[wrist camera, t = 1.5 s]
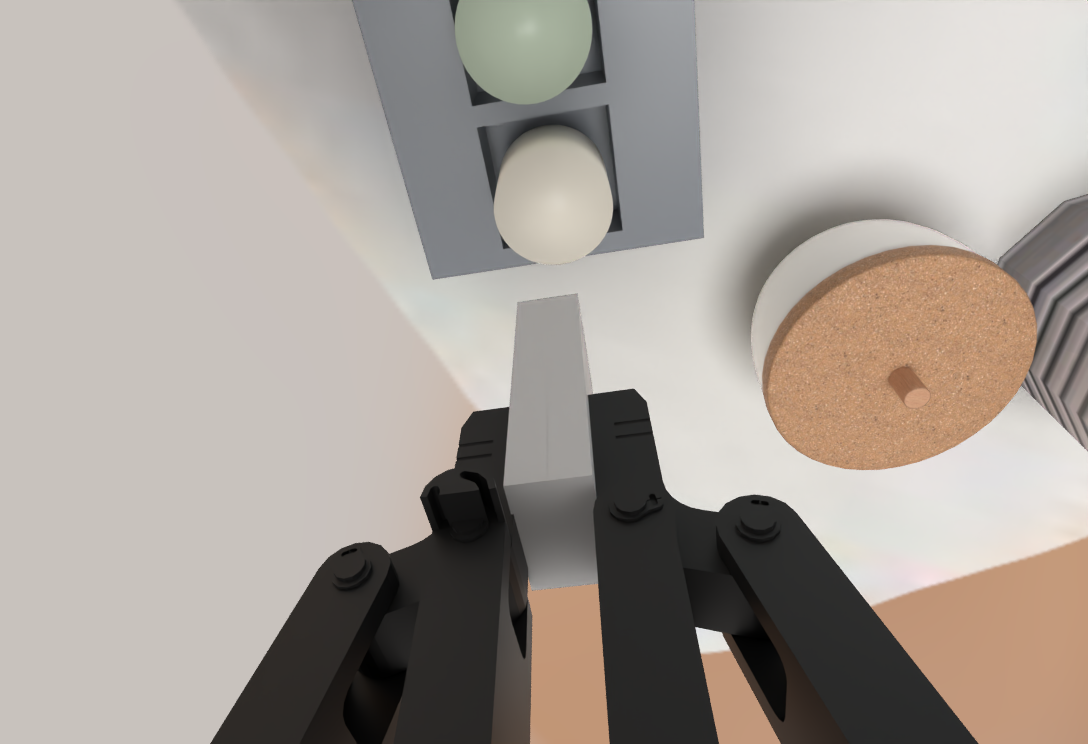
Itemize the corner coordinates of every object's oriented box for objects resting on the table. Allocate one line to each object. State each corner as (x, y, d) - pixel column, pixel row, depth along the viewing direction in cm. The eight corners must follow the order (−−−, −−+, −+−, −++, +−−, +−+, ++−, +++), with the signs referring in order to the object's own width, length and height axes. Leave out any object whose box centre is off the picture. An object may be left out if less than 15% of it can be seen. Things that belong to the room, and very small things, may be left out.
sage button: (452, -40, 24) (439, -33, 21) (577, -65, 23) (582, -62, 20) (480, 92, 26) (471, 114, 23) (594, 72, 26) (600, 92, 23)
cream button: (489, 134, 27) (482, 161, 24) (599, 115, 27) (605, 140, 24) (510, 237, 29) (506, 272, 26) (611, 221, 29) (619, 255, 26)
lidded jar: (884, 389, 38) (971, 512, 30) (699, 360, 37) (740, 479, 29) (988, 207, 32) (1129, 301, 24) (771, 166, 31) (847, 250, 23)
